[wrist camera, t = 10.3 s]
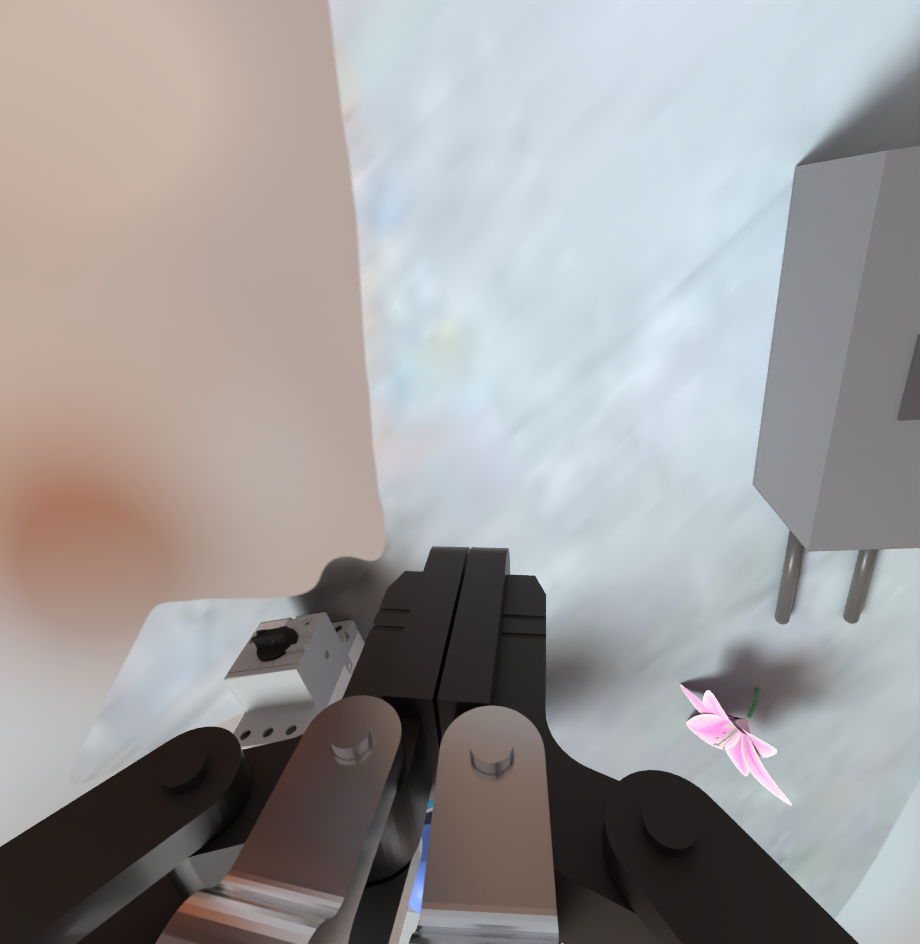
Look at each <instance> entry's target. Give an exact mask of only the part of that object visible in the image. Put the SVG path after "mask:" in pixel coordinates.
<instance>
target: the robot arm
mask: <svg viewBox="0 0 920 944" xmlns="http://www.w3.org/2000/svg"><path fill="white" fill-rule="evenodd" d="M545 692H546V594H545V592H544V590H543V589H542V587H541V585H540V584H539V582H538V580H537V579H536V577H535V576H528V575H510V559H509V549H508V548H475V547H472V548H471V550H470V548H469V547H435V546H433V547H432V548H431V550H430V553H429V556H428V559H427V562H426V565H425V568H424V571H423V572H415V571H405V572H404V573H403V574H402V575H401V576H400V577H399V578H398V579H397V580H396V581H395V582H394V583H392V584H391V585H390V586H389V587H388V589H387V591H386V594H385V596H384V599H383V601H382V603H381V606H380V611H379V612H378V613H377V616H376V618H375V620H374V623H373V628H372V630H370V633H369V635H368V637H367V640H366V642H365V645H364V647H363V649H362V652H361V654H360V657H359V659H358V662H357V664H356V666H355V669H354V671H353V674H352V676H351V679H350V681H349V683H348V686H347V688H346V691H345V693H344V695H343V697H342V699H341V700H339V701H337V702H335V703H333V704H331V705H329V706H328V707H326V708H325V709H323V710H322V711H321V712H320V713H319V714H318V715H317V716H316V717H315V718H314V719H313V720H312V721H311V723H310V724H309V726H308V727H307V729H306V731H305V733H304V734H302V735H299V736H297V737H294V738H291V739H287V740H283V741H278V742H274V743H269V744H265V745H260V746H256V747H251V748H247V749H242V748H241V746H240V743H239V741H238V739H237V738H236V736H235V735H234V734H233V733H231V732H230V731H228V730H226V729H223V728H219V727H202V728H197V729H193V730H190V731H187V732H185V733H183V734H180V735H178V736H176V737H175V738H173V739H171V740H169V741H168V742H166V743H165V744H163V745H161V746H160V747H158V748H157V749H155V750H154V751H152V752H150V753H149V754H147V755H146V756H144V757H142V758H141V759H139V760H138V761H136V762H134V763H133V764H131V765H130V766H128V767H127V768H125V769H123V770H122V771H120V772H119V773H117V774H116V775H114V776H112V777H111V778H109V779H107V780H106V781H104V782H103V783H101V784H100V785H98V786H96V787H95V788H93V789H92V790H90V791H88V792H87V793H85V794H84V795H82V796H80V797H79V798H77V799H76V800H74V801H72V802H71V803H69V804H68V805H66V806H65V807H63V808H61V809H60V810H58V811H57V812H55V813H53V814H52V815H50V816H49V817H47V818H46V819H44V820H42V821H41V822H39V823H38V824H36V825H34V826H33V827H31V828H30V829H28V830H26V831H25V832H23V833H22V834H20V835H18V836H17V837H15V838H14V839H12V840H10V841H9V842H7V843H6V844H4V845H3V846H1V847H0V944H398V943H399V939H400V936H401V932H402V928H403V924H404V920H405V916H406V913H407V909H408V905H409V901H410V897H411V894H412V890H413V886H414V882H415V878H416V874H417V871H418V867H419V863H420V859H421V854H422V832H423V827H424V822H425V817H426V812H427V807H428V802H429V800H434V802H433V811H432V819H431V828H430V836H429V845H428V853H427V862H426V870H425V879H424V888H423V896H422V904H421V912H420V918H419V922H418V926H417V929H416V931H415V932H414V933H413V934H412V936H411V938H410V942H409V944H561V942H562V943H564V944H858V942H856V940H854V939H853V938H852V937H851V936H850V935H849V934H848V933H847V932H846V931H845V930H844V929H843V928H842V927H841V926H840V925H839V924H838V923H837V922H836V921H835V920H834V919H833V918H832V917H831V916H830V915H829V914H828V913H827V912H826V911H825V910H824V909H823V908H822V907H821V906H820V905H819V904H818V903H817V902H816V901H815V900H814V899H813V898H812V897H811V896H810V895H809V894H808V893H807V892H806V891H805V890H804V889H803V888H802V887H801V886H800V885H799V884H798V883H797V882H796V881H795V880H794V879H793V878H792V877H791V876H790V875H789V874H788V873H787V872H786V871H784V870H783V869H782V868H781V867H780V866H779V865H778V864H777V863H776V862H775V861H774V860H773V859H772V858H771V857H770V856H769V855H768V854H767V853H766V852H765V851H764V850H763V849H762V848H761V847H760V846H759V845H758V844H757V843H756V842H755V841H754V840H753V839H752V838H751V837H750V836H749V835H748V834H747V833H746V832H745V831H744V830H743V829H742V828H741V827H740V826H739V825H738V824H737V823H736V822H735V821H734V820H733V819H732V818H731V817H730V816H729V815H728V814H727V813H726V812H725V811H724V810H723V809H722V808H721V807H720V806H719V805H718V804H717V803H716V802H715V801H713V800H712V799H711V798H710V797H709V796H708V795H707V794H706V793H705V792H704V791H703V790H701V789H700V788H699V787H697V786H696V785H694V784H693V783H691V782H690V781H688V780H686V779H684V778H682V777H680V776H677V775H675V774H672V773H668V772H664V771H657V770H646V771H639V772H636V773H632V774H630V775H628V776H626V777H624V778H623V779H622V780H620V781H618V780H616V779H613V778H611V777H608V776H606V775H604V774H601V773H599V772H597V771H594V770H592V769H590V768H588V767H586V766H584V765H582V764H580V763H578V762H577V761H575V760H574V759H572V758H571V757H570V756H569V755H568V754H566V753H565V752H564V751H563V750H562V749H561V747H560V746H559V745H558V744H557V743H556V741H555V739H554V738H553V736H552V735H551V732H550V730H549V728H548V725H547V721H546V713H545Z"/></svg>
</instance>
